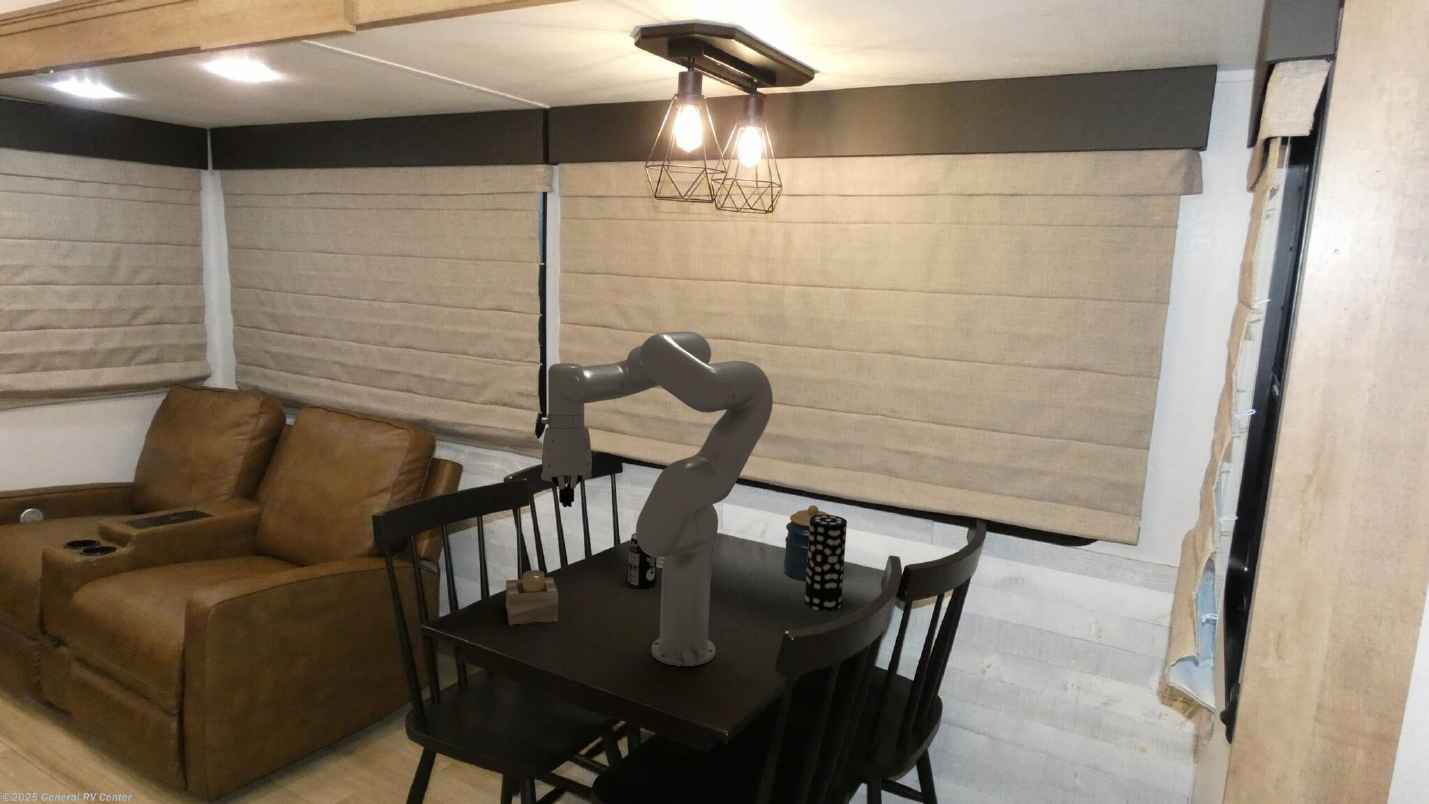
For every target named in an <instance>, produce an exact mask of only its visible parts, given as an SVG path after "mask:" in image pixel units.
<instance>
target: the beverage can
mask: <svg viewBox="0 0 1429 804" xmlns="http://www.w3.org/2000/svg"><path fill="white" fill-rule="evenodd" d="M628 543H629V544H628V569H627V570H628V577H627V581H628V583H629V585H630V586H631V587H633V588H636V589H648V588H652V587H653V586H654V584H655V583H656V582H657V567H656V561H657V557H652V556H649V555H647V554H646V553H645V552H643V550H642V549H641V548H640V546H639V544H638V542H637V538H636V532H634V533H632V534H631V537H630V539H629V542H628Z"/></svg>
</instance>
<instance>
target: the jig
mask: <svg viewBox="0 0 1429 804" xmlns="http://www.w3.org/2000/svg"><path fill="white" fill-rule="evenodd" d="M505 582H506V583H505V598H506V599H505V608H506V614H507V620H508V624H509V625H508V626H514V625H513V624H520V625H528V624H527V623H531V624H533V623H532V622H543V623H551V622H552V621H554V622H559V592H558V590H557V589H558V588H557V586H556V583H555V580H554V577H553V576H552V577H551V576H550V577H544V592H533V593H523V578H521V579H509V580H505Z"/></svg>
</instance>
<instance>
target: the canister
mask: <svg viewBox="0 0 1429 804" xmlns="http://www.w3.org/2000/svg"><path fill="white" fill-rule="evenodd" d="M815 515H830V514H829V513H828V512H825V511H821V510H819V508H818V506H816V505H813V504H812V505H810V506H808V509H802V510H797V511H796V513H793V514H791V515H790V517H789V519H790V522H788V523H787V524H786V525H785V529H786V531H787V536H785V553H784V561H783V568H784V573H785V572H786V573H787V574H786V573H785V574H786V575H787V576H788V577H790V576H791V578H793V579H795V578H796V580H799V581H804V580H806V573H807V557H808V541H809V525H810V517H812V516H815Z"/></svg>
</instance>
